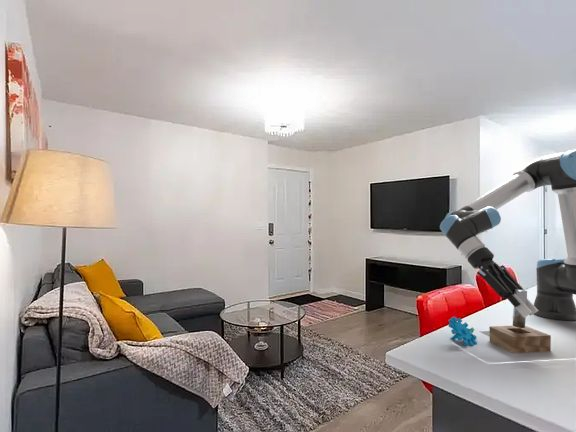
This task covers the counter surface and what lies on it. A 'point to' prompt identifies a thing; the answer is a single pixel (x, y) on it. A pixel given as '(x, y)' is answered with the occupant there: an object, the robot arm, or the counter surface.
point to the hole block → (520, 339)
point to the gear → (462, 331)
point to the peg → (517, 317)
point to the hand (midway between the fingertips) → (531, 314)
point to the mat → (486, 333)
